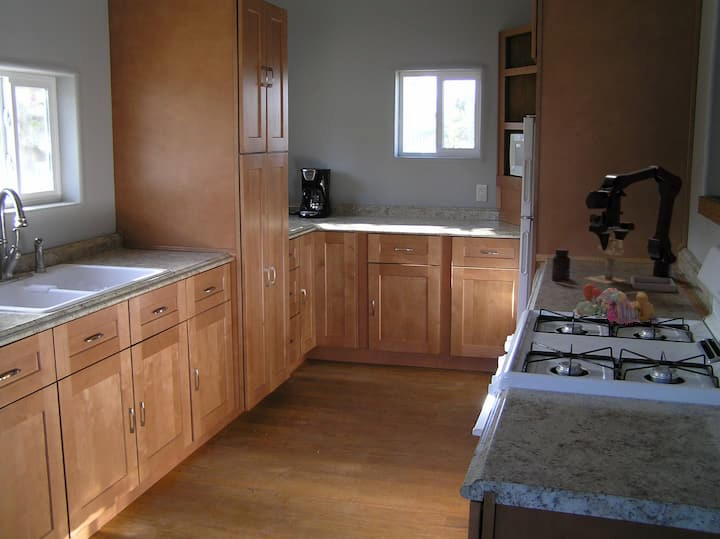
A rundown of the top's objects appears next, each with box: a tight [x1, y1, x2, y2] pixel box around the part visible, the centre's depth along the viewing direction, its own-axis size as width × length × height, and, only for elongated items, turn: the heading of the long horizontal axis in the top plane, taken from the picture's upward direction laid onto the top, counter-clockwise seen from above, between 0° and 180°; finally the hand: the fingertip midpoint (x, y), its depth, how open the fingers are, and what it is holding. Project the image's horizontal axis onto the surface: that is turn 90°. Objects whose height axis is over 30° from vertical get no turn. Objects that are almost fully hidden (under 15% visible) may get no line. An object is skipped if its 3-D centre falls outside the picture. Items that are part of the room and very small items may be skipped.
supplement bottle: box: [551, 248, 572, 283], centre depth 297 cm, size 7×7×12 cm
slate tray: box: [630, 276, 677, 293], centre depth 286 cm, size 14×14×2 cm
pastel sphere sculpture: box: [572, 283, 658, 326], centre depth 242 cm, size 25×24×9 cm
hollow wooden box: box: [597, 237, 625, 256], centre depth 296 cm, size 6×8×5 cm
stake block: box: [582, 257, 629, 284], centre depth 297 cm, size 12×12×9 cm
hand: (610, 249), depth 297 cm, fingers closed on hollow wooden box, 6 cm apart
